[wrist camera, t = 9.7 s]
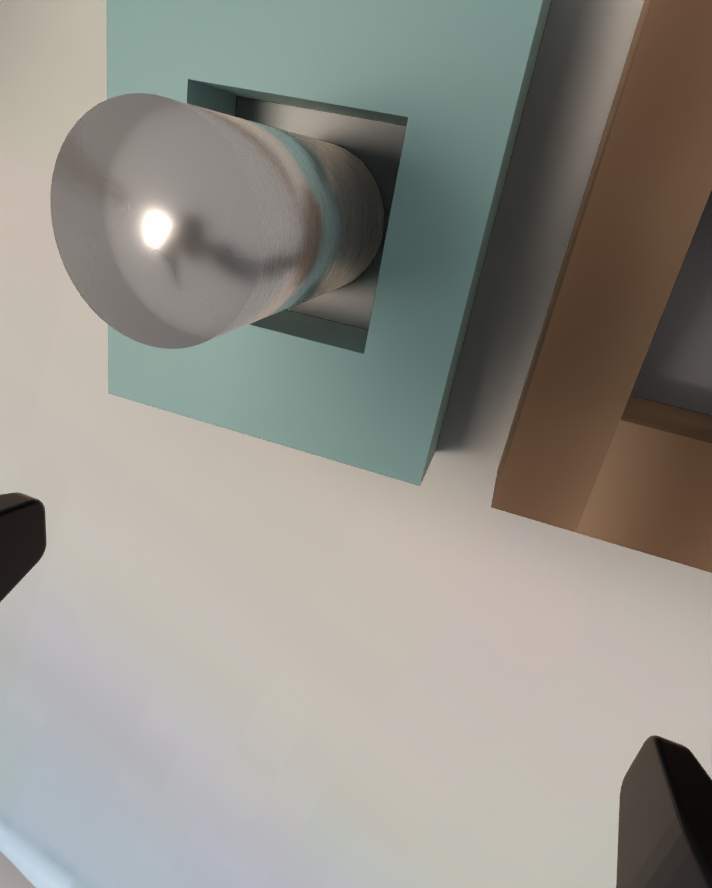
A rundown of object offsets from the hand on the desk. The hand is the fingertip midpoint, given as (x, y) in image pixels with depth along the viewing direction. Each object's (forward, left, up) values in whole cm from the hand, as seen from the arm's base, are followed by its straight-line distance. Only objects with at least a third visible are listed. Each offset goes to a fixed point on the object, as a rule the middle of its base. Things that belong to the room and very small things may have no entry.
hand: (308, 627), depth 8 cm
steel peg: (+5, -4, -11) cm, 13 cm away
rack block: (+5, -4, -11) cm, 13 cm away
